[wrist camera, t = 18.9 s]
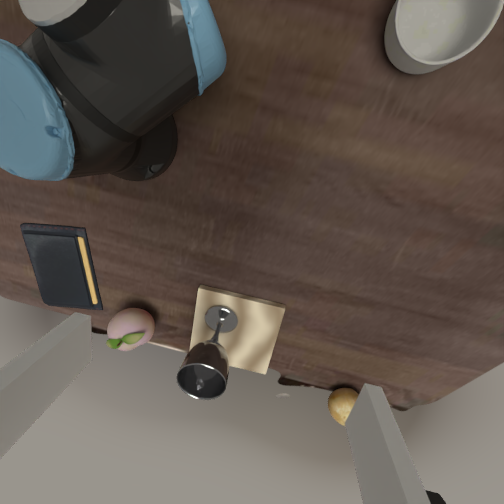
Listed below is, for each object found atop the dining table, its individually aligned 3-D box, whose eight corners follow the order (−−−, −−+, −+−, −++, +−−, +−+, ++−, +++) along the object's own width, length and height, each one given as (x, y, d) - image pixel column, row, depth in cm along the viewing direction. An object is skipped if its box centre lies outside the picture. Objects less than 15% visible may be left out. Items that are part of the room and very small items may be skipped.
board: (190, 350, 60) (188, 355, 58) (200, 284, 53) (198, 287, 52) (266, 369, 59) (265, 374, 58) (285, 304, 53) (285, 308, 51)
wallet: (13, 223, 52) (83, 229, 50) (22, 220, 53) (90, 226, 52) (37, 307, 59) (99, 315, 58) (44, 303, 61) (105, 310, 59)
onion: (319, 396, 61) (323, 425, 54) (341, 376, 58) (348, 404, 51) (346, 412, 61) (354, 443, 55) (369, 393, 58) (380, 423, 52)
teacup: (425, 94, 38) (460, 79, 30) (359, 62, 37) (378, 39, 30) (495, -24, 32) (558, -76, 25) (419, -62, 32) (460, -128, 25)
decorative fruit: (146, 291, 55) (119, 318, 46) (169, 319, 57) (147, 351, 48) (116, 308, 58) (84, 337, 49) (139, 335, 60) (113, 368, 51)
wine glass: (235, 338, 55) (220, 404, 42) (199, 329, 55) (173, 392, 42) (243, 310, 52) (230, 372, 38) (205, 300, 52) (179, 359, 38)
